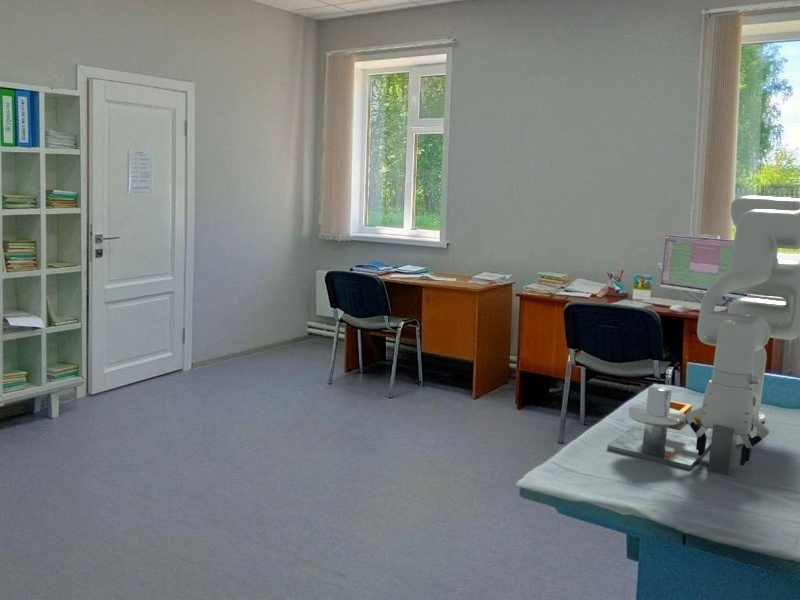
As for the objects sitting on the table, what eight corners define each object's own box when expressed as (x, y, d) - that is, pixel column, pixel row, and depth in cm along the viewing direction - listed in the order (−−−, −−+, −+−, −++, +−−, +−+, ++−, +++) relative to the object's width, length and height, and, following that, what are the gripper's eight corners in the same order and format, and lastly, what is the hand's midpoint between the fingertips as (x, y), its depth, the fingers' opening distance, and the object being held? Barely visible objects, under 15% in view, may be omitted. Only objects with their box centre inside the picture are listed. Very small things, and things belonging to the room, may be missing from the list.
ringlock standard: (635, 427, 185) (641, 368, 183) (734, 450, 172) (742, 387, 170) (604, 451, 167) (610, 386, 165) (711, 478, 154) (720, 408, 152)
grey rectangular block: (713, 463, 163) (718, 419, 162) (733, 468, 161) (738, 423, 159) (707, 470, 159) (713, 425, 158) (727, 475, 157) (733, 429, 155)
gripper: (780, 383, 155) (769, 464, 158) (693, 367, 165) (684, 444, 168) (774, 390, 149) (763, 474, 152) (683, 374, 159) (675, 453, 161)
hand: (721, 458), depth 160 cm, fingers open, 7 cm apart
